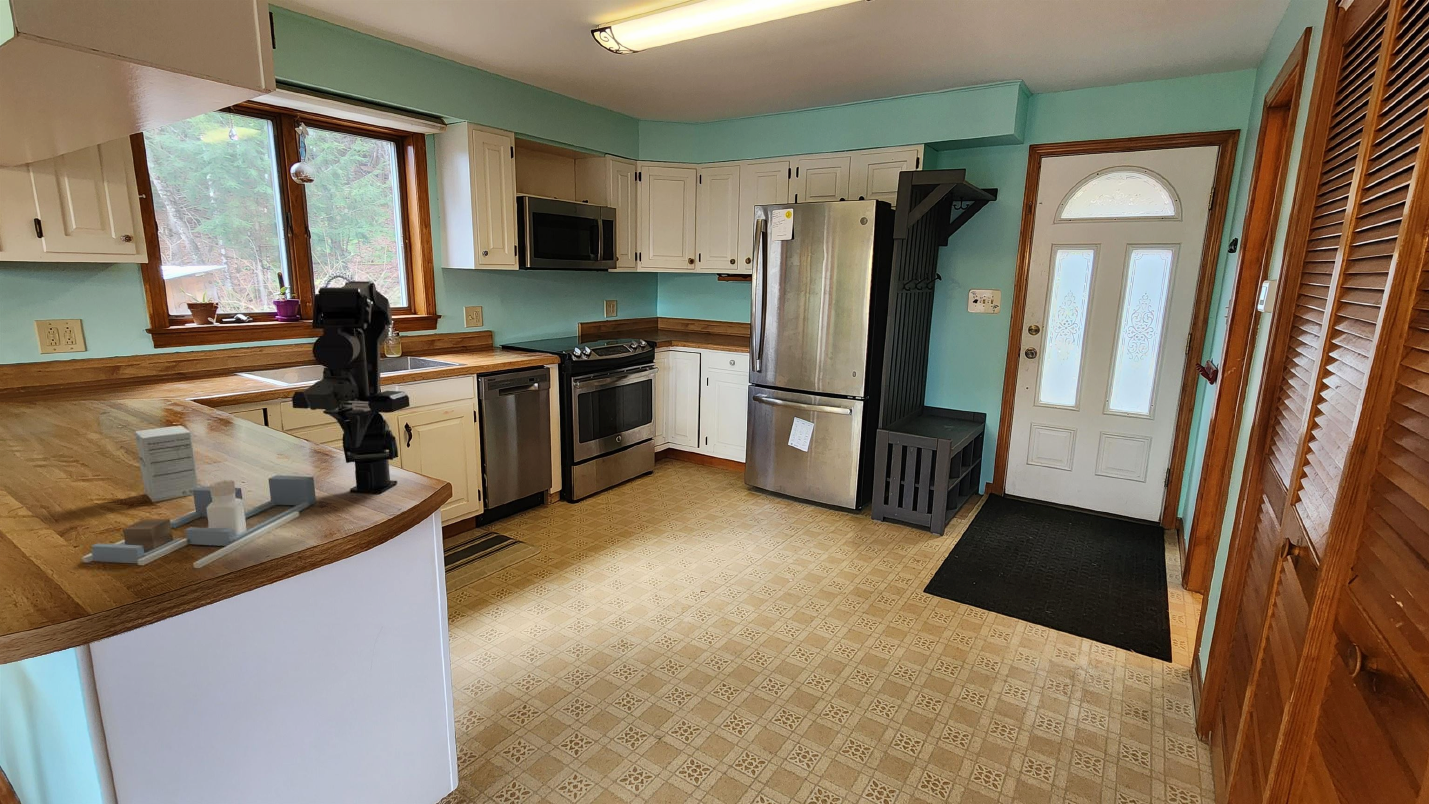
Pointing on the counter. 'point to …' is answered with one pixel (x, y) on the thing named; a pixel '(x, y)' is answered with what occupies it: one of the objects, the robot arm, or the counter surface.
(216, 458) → the counter surface
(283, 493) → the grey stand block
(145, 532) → the walnut cube
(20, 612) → the counter surface
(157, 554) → the lane rails
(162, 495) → the supplement box
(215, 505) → the pepper shaker
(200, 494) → the broken strip
